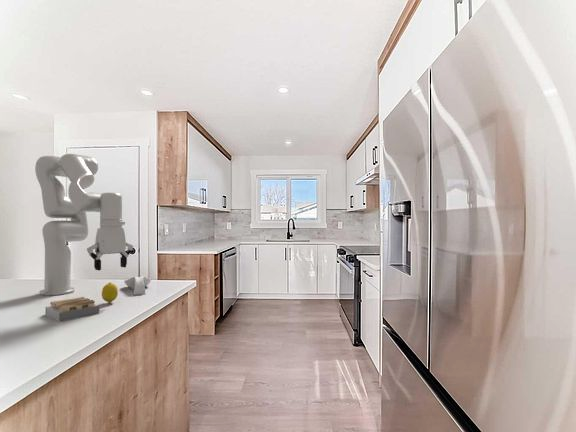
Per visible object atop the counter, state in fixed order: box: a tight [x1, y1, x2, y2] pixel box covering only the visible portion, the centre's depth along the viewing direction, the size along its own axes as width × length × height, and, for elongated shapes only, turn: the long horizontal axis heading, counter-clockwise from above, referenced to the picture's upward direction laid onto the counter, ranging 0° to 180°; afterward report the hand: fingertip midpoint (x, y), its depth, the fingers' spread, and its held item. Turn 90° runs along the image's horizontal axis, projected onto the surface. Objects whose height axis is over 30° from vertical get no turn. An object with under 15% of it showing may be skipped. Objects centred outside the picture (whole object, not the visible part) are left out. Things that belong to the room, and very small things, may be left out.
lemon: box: [101, 282, 119, 304], centre depth 131 cm, size 6×6×8 cm
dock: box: [44, 303, 100, 322], centre depth 115 cm, size 12×12×3 cm
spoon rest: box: [123, 275, 152, 296], centre depth 156 cm, size 24×12×7 cm, turn 27°
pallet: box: [50, 296, 96, 312], centre depth 116 cm, size 10×10×2 cm
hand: (111, 268), depth 130 cm, fingers open, 9 cm apart
